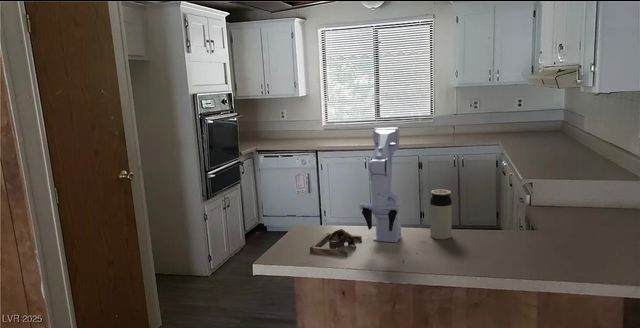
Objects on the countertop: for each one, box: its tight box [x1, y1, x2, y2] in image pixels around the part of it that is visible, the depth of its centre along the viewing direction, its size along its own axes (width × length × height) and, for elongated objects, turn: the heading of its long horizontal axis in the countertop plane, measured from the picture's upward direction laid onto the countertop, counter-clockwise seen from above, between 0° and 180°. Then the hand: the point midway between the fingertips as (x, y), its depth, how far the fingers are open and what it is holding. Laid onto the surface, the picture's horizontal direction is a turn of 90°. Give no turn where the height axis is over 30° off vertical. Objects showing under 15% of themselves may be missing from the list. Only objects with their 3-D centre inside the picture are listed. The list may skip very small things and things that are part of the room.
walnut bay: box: [309, 232, 363, 257], centre depth 176 cm, size 14×17×2 cm
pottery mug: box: [328, 228, 357, 250], centre depth 174 cm, size 12×10×8 cm
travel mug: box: [429, 188, 453, 240], centre depth 181 cm, size 8×8×18 cm
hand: (380, 229), depth 168 cm, fingers open, 7 cm apart
